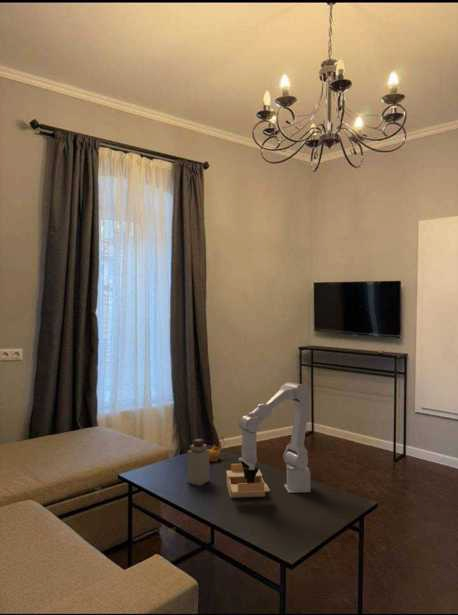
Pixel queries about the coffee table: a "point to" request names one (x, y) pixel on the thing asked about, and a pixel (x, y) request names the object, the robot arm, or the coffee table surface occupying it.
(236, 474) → the far panel
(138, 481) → the coffee table surface
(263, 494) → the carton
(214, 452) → the magic lamp
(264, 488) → the near panel
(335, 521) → the coffee table surface
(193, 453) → the perfume bottle
